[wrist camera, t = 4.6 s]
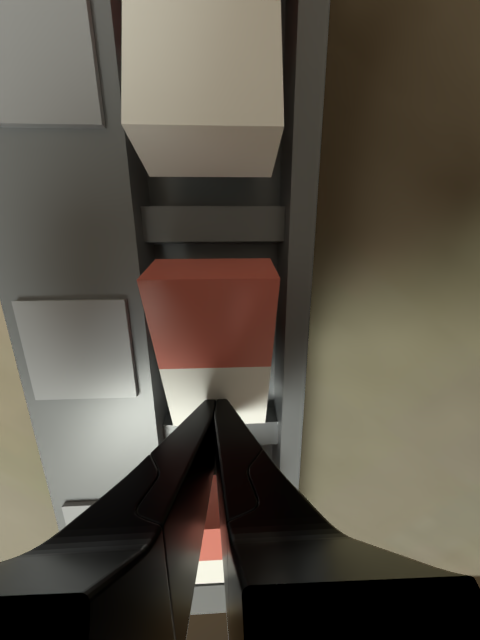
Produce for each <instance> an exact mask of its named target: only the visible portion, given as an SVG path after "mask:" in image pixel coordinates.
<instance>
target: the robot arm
mask: <svg viewBox="0 0 480 640" xmlns="http://www.w3.org/2000/svg"><path fill="white" fill-rule="evenodd" d="M215 462H216V479H217V492H218V506H219V519H220V532H221V546H222V559H223V572H224V586H225V599H226V612H227V626H228V639H229V640H480V588H479V586H478V584H477V582H476V580H475V579H474V577H472V576H467V575H463V574H458V573H454V572H450V571H446V570H443V569H440V568H436V567H433V566H431V565H428V564H425V563H422V562H419V561H416V560H413V559H410V558H408V557H405V556H402V555H399V554H396V553H393V552H390V551H387V550H385V549H382V548H379V547H376V546H373V545H370V544H367V543H364V542H361V541H359V540H356V539H353V538H351V537H348V536H347V535H345V534H343V533H342V532H340V531H339V530H338V529H336V528H335V527H334V526H333V525H332V524H330V523H329V522H328V521H327V520H326V519H325V518H324V517H323V516H322V515H321V514H320V513H319V512H318V511H317V509H316V508H315V507H314V506H313V505H312V504H311V503H310V502H309V501H308V500H307V499H306V498H305V497H304V496H303V495H302V494H301V493H300V492H299V491H298V489H297V488H296V487H295V486H294V485H293V484H292V483H291V482H290V481H289V480H288V479H287V478H286V477H285V475H284V474H283V473H282V472H281V471H280V470H279V469H278V467H277V466H276V465H275V464H274V462H273V461H272V460H271V459H270V457H269V456H268V454H267V453H266V452H265V450H264V449H263V448H262V446H261V445H260V444H259V442H258V441H257V439H256V438H255V437H254V435H253V434H252V433H251V431H250V430H249V428H248V427H247V426H246V424H245V423H244V422H243V420H242V419H241V417H240V416H239V415H238V413H237V412H236V411H235V409H234V408H233V406H232V405H231V404H230V402H229V401H228V400H227V399H217V400H215V399H207V400H204V401H203V402H202V403H201V404H200V405H199V406H198V407H197V408H196V409H195V410H194V411H193V412H192V413H191V414H190V415H189V416H188V417H187V418H186V419H185V420H184V421H183V422H182V423H181V424H180V425H179V426H178V427H177V428H176V429H175V430H174V431H173V432H172V433H171V434H170V435H169V436H168V437H166V438H165V439H164V440H163V441H162V442H161V443H160V444H159V445H158V446H157V447H156V448H155V449H154V450H153V451H152V452H151V453H150V455H148V456H147V457H146V458H145V459H144V460H143V461H142V462H141V463H140V464H139V465H138V466H136V467H135V468H134V469H133V470H132V471H131V472H130V473H129V474H128V475H127V476H126V477H124V478H123V479H122V480H121V481H120V482H119V483H117V484H116V485H115V486H114V487H113V488H112V489H110V490H109V491H108V492H107V493H106V494H104V495H103V496H102V497H101V498H99V499H98V500H97V501H96V502H95V503H93V504H92V505H91V506H90V507H89V508H87V509H86V510H85V511H84V512H82V513H81V514H80V515H79V516H78V517H76V518H75V519H74V520H73V521H71V522H70V523H69V524H68V525H67V526H65V527H64V528H63V529H62V530H60V531H59V532H58V533H57V534H55V535H54V536H53V537H51V538H50V539H49V540H47V541H46V542H44V543H43V544H41V545H40V546H38V547H36V548H34V549H32V550H31V551H29V552H26V553H24V554H22V555H20V556H17V557H15V558H12V559H9V560H6V561H3V562H0V640H186V636H187V629H188V624H189V617H190V612H191V606H192V600H193V594H194V588H195V582H196V576H197V570H198V564H199V558H200V552H201V546H202V540H203V534H204V528H205V522H206V516H207V510H208V504H209V497H210V491H211V485H212V479H213V473H214V467H215Z"/></svg>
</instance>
